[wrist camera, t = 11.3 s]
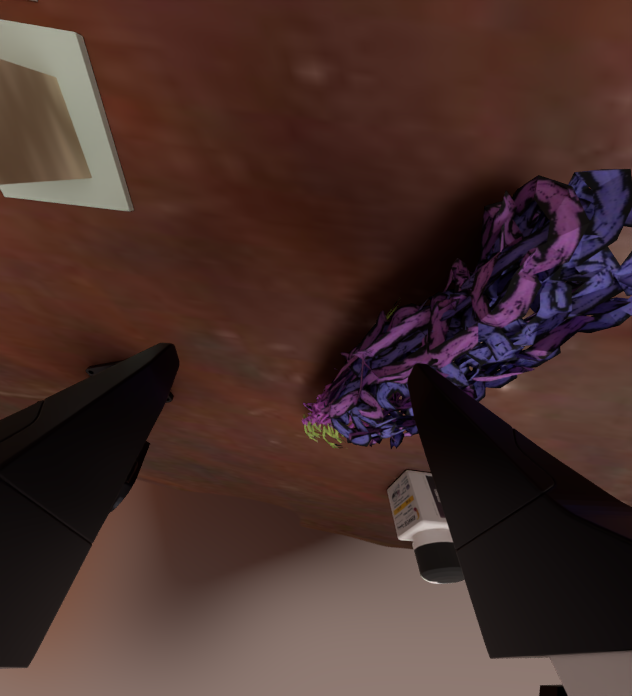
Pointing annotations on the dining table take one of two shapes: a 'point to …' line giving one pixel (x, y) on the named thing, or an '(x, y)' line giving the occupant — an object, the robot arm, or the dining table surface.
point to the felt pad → (85, 111)
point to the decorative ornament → (494, 306)
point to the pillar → (36, 129)
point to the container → (424, 526)
